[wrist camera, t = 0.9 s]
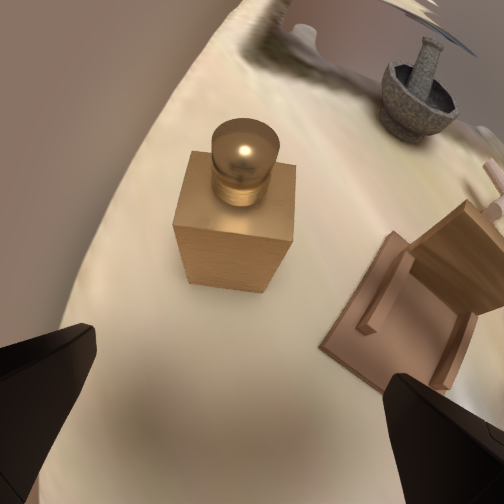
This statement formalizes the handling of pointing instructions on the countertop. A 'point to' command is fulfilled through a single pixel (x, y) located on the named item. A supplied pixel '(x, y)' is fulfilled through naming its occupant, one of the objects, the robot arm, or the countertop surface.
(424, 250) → the bronze stepped stand
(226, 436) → the countertop surface
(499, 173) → the pipe connector
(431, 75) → the mortar and pestle
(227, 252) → the bronze perfume bottle
